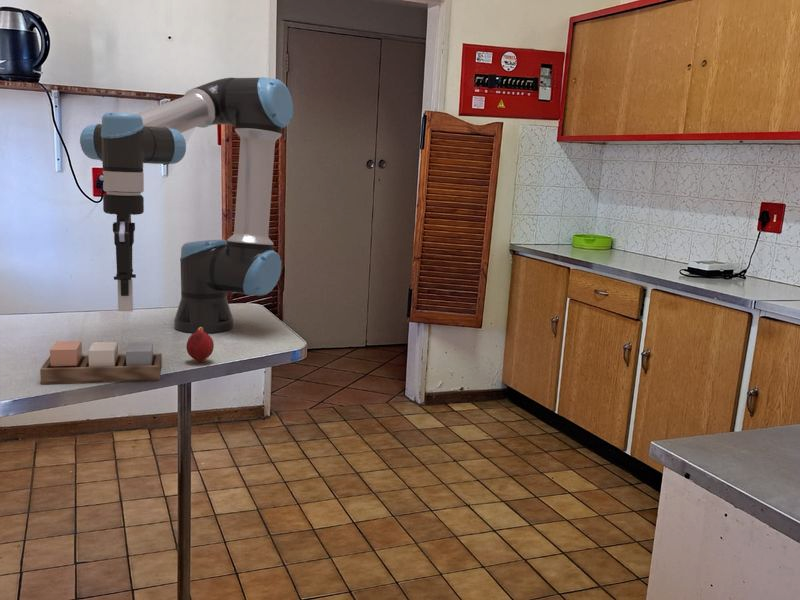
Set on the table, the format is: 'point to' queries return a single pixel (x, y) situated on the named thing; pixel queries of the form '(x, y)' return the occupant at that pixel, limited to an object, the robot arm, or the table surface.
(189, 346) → the onion
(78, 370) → the wooden compartment tray
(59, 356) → the terracotta key
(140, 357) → the slate key
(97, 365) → the cream key
